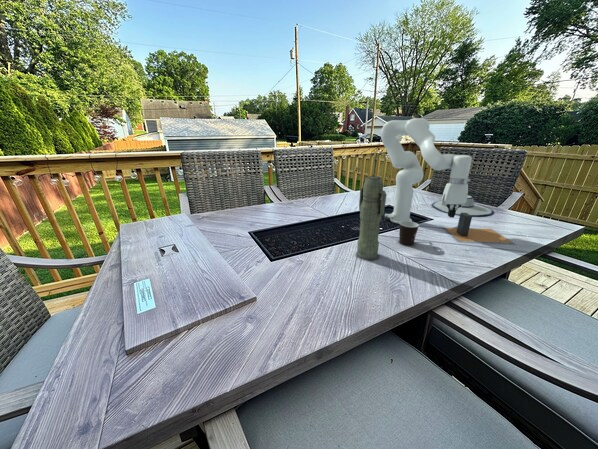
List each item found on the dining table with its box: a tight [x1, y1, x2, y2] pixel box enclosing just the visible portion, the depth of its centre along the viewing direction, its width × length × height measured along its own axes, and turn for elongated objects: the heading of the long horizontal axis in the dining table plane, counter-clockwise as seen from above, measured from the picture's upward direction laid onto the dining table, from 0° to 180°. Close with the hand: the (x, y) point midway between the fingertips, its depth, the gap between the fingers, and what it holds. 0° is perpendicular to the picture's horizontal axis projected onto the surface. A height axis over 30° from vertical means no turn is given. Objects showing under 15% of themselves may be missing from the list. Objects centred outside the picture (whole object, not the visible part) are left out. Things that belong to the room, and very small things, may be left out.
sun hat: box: [431, 194, 494, 217], centre depth 172 cm, size 36×36×9 cm
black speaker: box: [456, 213, 473, 236], centre depth 128 cm, size 3×6×11 cm, turn 173°
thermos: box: [356, 175, 387, 261], centre depth 105 cm, size 9×12×35 cm
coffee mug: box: [398, 221, 420, 247], centre depth 121 cm, size 12×9×10 cm
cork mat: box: [444, 227, 513, 244], centre depth 129 cm, size 24×18×1 cm
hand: (450, 216), depth 127 cm, fingers closed
